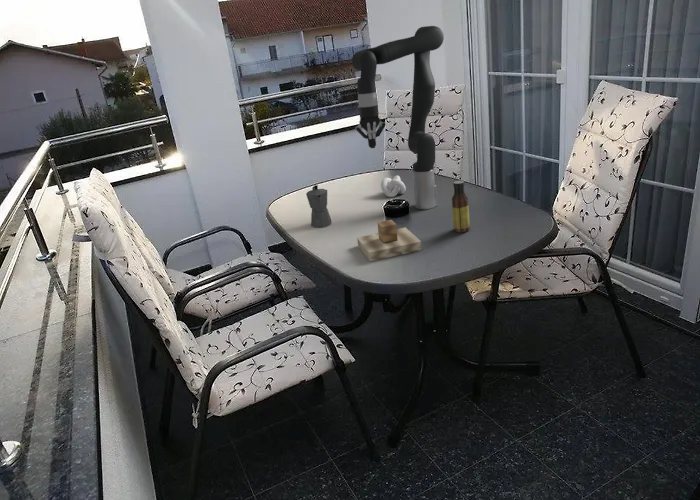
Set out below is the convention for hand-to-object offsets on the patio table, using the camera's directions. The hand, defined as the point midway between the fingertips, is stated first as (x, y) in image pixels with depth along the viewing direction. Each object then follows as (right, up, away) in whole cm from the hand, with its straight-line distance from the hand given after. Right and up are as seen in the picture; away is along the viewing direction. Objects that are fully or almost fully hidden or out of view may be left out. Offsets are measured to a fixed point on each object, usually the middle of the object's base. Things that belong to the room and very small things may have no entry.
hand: (372, 147), depth 205 cm
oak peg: (+6, -41, -15) cm, 44 cm away
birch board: (+6, -41, -15) cm, 44 cm away
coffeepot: (-22, -30, +18) cm, 42 cm away
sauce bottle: (+35, -34, -7) cm, 49 cm away
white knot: (+13, -15, +43) cm, 48 cm away
